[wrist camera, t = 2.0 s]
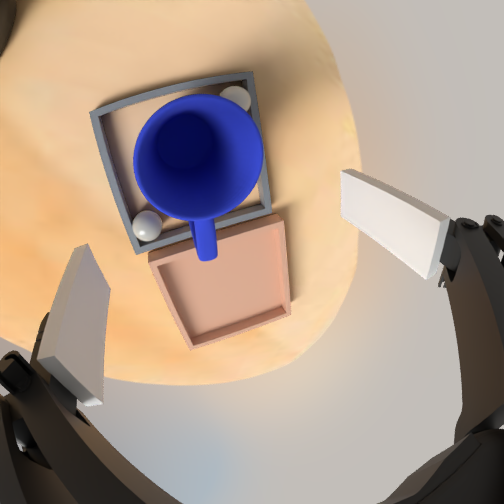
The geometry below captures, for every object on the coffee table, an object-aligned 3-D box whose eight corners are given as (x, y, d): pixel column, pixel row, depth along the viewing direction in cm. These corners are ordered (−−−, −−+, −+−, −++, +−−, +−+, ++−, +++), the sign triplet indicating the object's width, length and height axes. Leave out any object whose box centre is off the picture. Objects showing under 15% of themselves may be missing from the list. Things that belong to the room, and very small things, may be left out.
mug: (153, 223, 27) (157, 280, 19) (137, 106, 20) (125, 104, 12) (229, 210, 29) (264, 258, 21) (224, 95, 22) (263, 91, 14)
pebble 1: (129, 211, 25) (127, 223, 23) (156, 202, 26) (157, 213, 23) (138, 236, 27) (138, 250, 24) (165, 228, 27) (167, 241, 25)
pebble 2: (212, 89, 22) (219, 87, 19) (242, 84, 22) (253, 82, 20) (217, 118, 23) (225, 120, 21) (247, 113, 24) (258, 114, 22)
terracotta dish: (148, 253, 28) (148, 262, 26) (276, 213, 31) (283, 220, 29) (187, 339, 36) (189, 350, 35) (285, 305, 39) (291, 314, 38)
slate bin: (92, 111, 19) (89, 112, 18) (247, 72, 22) (252, 71, 21) (136, 248, 27) (136, 254, 26) (267, 208, 30) (272, 212, 29)
